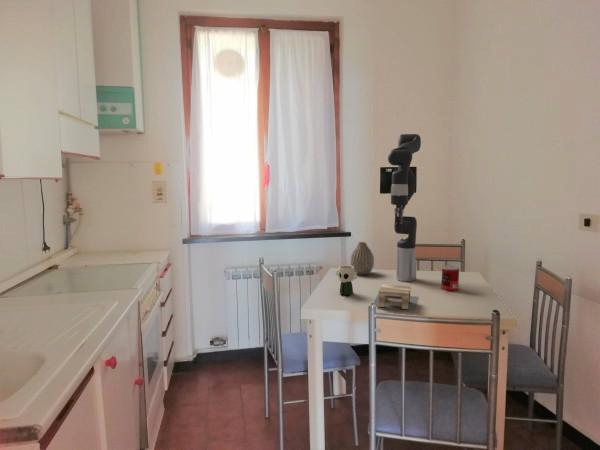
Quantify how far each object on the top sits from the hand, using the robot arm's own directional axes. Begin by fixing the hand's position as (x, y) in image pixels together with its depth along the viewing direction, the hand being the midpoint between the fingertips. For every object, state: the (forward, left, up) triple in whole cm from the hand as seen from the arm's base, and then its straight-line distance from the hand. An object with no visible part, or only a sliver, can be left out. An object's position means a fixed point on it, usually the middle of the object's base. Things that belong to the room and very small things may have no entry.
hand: (398, 231), depth 204 cm
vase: (-8, -40, -29) cm, 50 cm away
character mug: (+22, -10, -29) cm, 38 cm away
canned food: (-26, +7, -29) cm, 40 cm away
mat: (+11, +12, -29) cm, 33 cm away
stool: (+10, +11, -25) cm, 29 cm away
